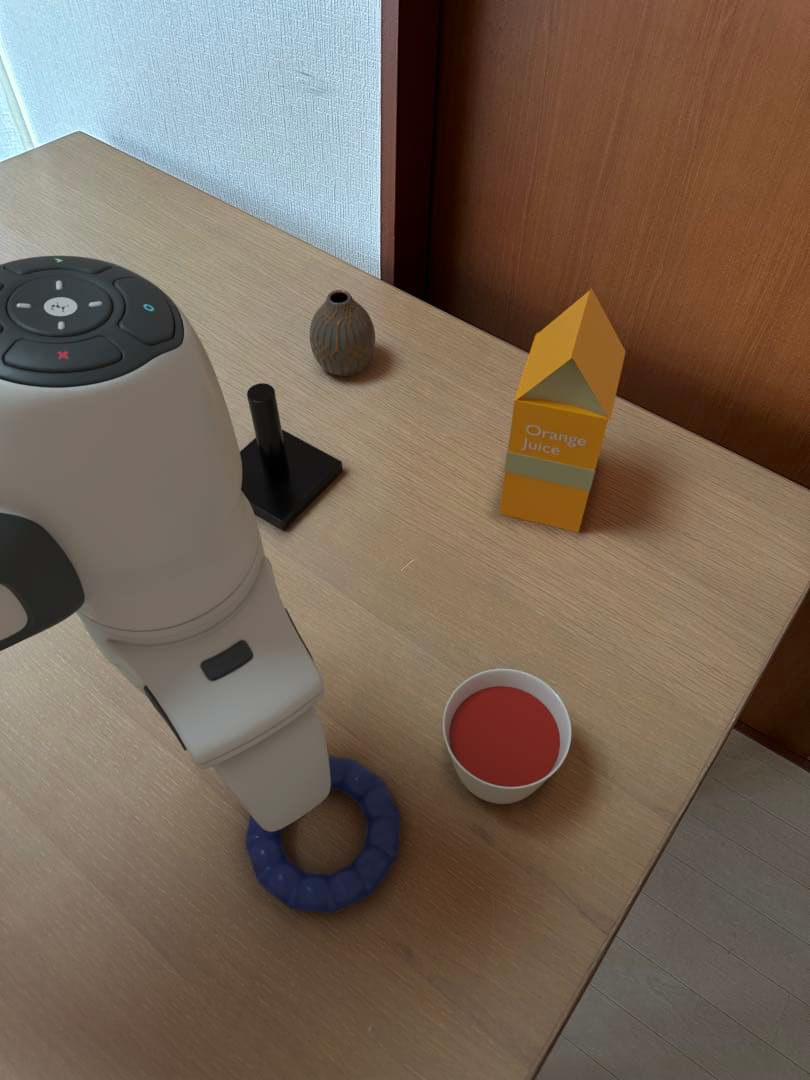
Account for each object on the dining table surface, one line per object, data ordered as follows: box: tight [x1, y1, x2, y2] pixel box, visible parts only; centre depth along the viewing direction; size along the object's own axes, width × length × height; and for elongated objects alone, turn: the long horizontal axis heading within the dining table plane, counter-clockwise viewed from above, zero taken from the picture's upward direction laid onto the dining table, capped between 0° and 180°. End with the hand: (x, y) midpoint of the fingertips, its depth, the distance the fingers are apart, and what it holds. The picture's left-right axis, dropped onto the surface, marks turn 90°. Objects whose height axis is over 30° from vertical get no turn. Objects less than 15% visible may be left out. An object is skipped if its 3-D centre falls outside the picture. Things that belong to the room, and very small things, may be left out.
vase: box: [309, 289, 376, 377], centre depth 87 cm, size 7×7×9 cm
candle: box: [442, 668, 572, 805], centre depth 61 cm, size 9×9×6 cm
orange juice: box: [499, 287, 626, 533], centre depth 72 cm, size 8×9×20 cm
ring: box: [245, 756, 402, 914], centre depth 59 cm, size 11×11×2 cm
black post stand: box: [239, 382, 344, 532], centre depth 76 cm, size 9×9×12 cm
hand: (227, 710), depth 50 cm, fingers open, 8 cm apart
